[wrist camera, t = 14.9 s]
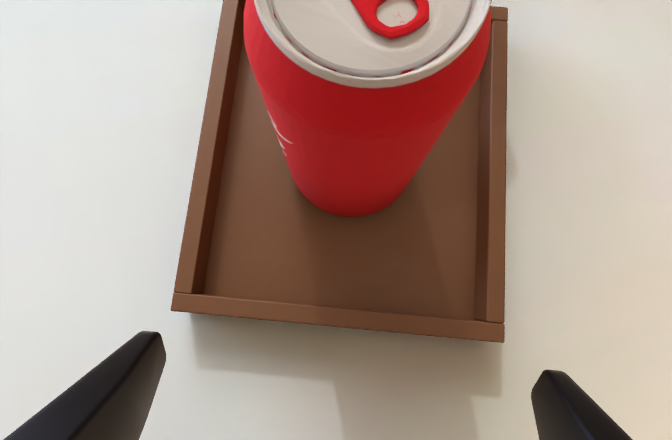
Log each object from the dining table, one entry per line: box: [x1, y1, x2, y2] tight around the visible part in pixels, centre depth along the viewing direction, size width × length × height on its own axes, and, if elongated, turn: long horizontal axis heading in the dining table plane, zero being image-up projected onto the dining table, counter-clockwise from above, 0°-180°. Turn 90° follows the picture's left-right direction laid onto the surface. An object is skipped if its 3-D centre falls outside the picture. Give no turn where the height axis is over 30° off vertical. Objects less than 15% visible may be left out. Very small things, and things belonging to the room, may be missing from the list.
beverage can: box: [244, 0, 492, 217], centre depth 14 cm, size 6×6×12 cm
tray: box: [171, 0, 508, 343], centre depth 19 cm, size 17×15×2 cm
